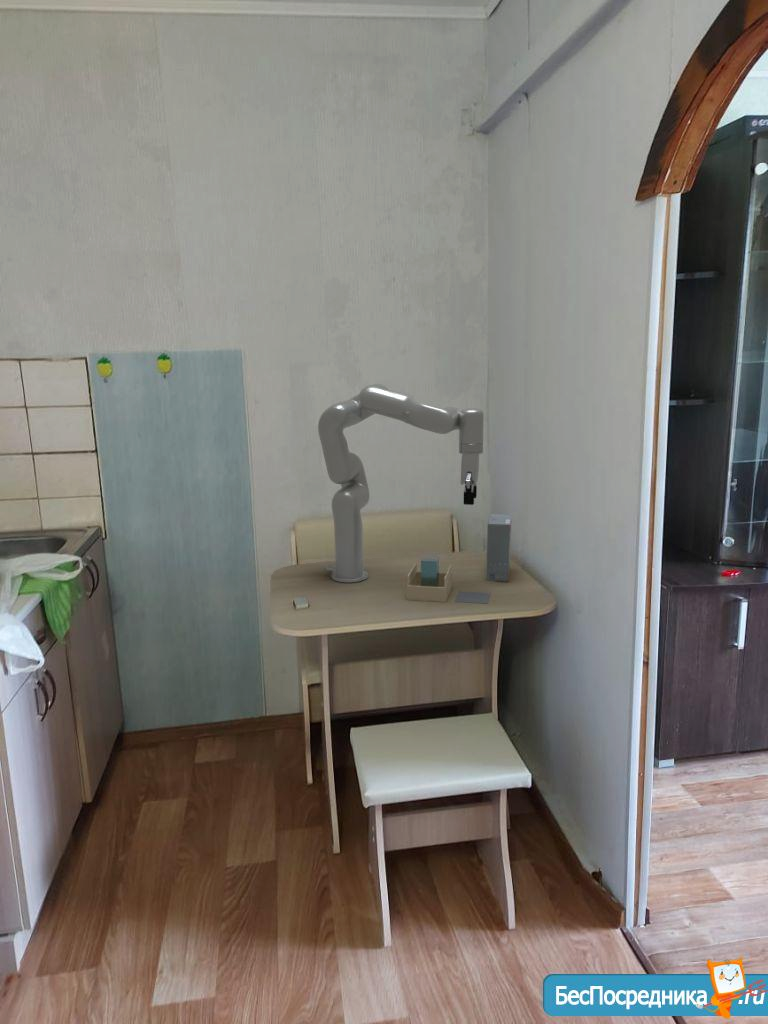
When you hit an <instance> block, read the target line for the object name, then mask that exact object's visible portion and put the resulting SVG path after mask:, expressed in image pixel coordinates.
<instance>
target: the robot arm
mask: <svg viewBox="0 0 768 1024" xmlns="http://www.w3.org/2000/svg"><path fill="white" fill-rule="evenodd" d="M375 414H377V415H379V416H383V417H387V418H391V419H394V420H397V421H401V422H403V423H405V424H408V425H410V426H413V427H416V428H418V429H421V430H424V431H428V432H431V433H435V434H439V435H441V434H442V435H446V434H449V433H451V432H453V431H456V430H458V431H459V433H458V434H459V435H458V441H459V442H458V454H461V463H460V464H461V465H460V485H462V486H463V485H464V487H463V505H467V506H469V505H470V506H473V505H474V504H475V499H477V489H478V488H477V487H478V486H477V483H478V479H479V472H480V471H479V468H480V467H479V466H480V455H481V454H483V453H484V422H485V421H484V419H485V418H484V417H485V416H484V412H483V410H482V409H480V408H474V407H473V408H469V407H468V408H461V407H460V408H459V407H454V406H453V407H452V406H448V407H444V408H437V407H435V406H430V405H426V404H423V403H421V402H420V401H417V400H416V399H415V398H414V397H413V396H411V395H409V394H407V393H402V392H398V391H395V390H392V389H388V387H387V386H385V385H383V384H380V383H375V384H370V385H369V384H368V385H366V386H365V387H363V388H362V389H361V390H360V392H359V393H358V394H357V395H354V396H353V397H351V398H349V399H347V400H344V401H340V402H336V403H334V404H332V405H330V406H328V407H327V408H326V409H325V410H324V411H323V413H321V415H320V417H319V420H318V424H317V431H318V436H319V440H320V445H321V448H322V452H323V459H324V462H325V467H326V472H327V474H328V478H329V479H330V481H331V482H332V483H334V484H335V485H340V486H341V488H339V489H338V490H337V491H336V492H335V494H334V495H333V497H332V498H331V499H332V500H331V510H332V517H333V518H332V519H333V526H334V528H333V529H334V554H335V555H334V557H335V559H334V560H335V562H334V563H333V564H331V563H329V564H328V563H325V564H324V565H323V569H324V570H325V572H332V573H331V574H330V576H331V579H332V580H333V581H335V582H339V583H345V584H346V583H358V582H363V581H365V580H366V579H367V578H369V574H368V571H366V570H364V546H363V545H364V541H363V538H364V537H363V521H362V516H361V510H362V509H364V508H365V507H366V506H367V505H368V503H369V501H370V490H369V484H368V481H367V475H366V472H365V468H364V464H363V461H362V459H361V458H360V457H359V456H358V455H357V454H356V453H354V452H351V451H350V450H349V446H348V441H347V438H346V436H345V435H344V430H345V429H346V428H350V427H352V426H355V425H357V424H360V423H362V422H363V421H365V420H366V419H368V418H370V417H371V416H374V415H375Z"/></svg>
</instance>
